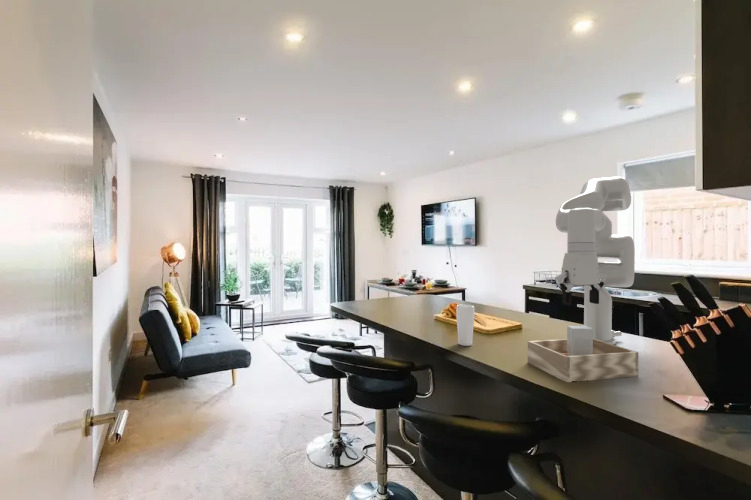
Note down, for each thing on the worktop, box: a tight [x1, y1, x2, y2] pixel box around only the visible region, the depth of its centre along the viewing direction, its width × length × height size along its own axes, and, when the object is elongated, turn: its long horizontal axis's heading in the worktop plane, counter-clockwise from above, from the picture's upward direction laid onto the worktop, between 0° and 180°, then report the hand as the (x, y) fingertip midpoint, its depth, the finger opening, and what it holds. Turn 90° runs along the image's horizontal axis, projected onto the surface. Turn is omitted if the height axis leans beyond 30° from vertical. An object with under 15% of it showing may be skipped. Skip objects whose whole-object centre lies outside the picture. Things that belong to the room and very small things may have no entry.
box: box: [527, 338, 639, 383], centre depth 117 cm, size 24×18×7 cm
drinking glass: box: [455, 303, 475, 347], centre depth 145 cm, size 7×7×15 cm
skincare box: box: [566, 325, 593, 356], centre depth 117 cm, size 6×4×12 cm
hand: (580, 303), depth 117 cm, fingers open, 9 cm apart
